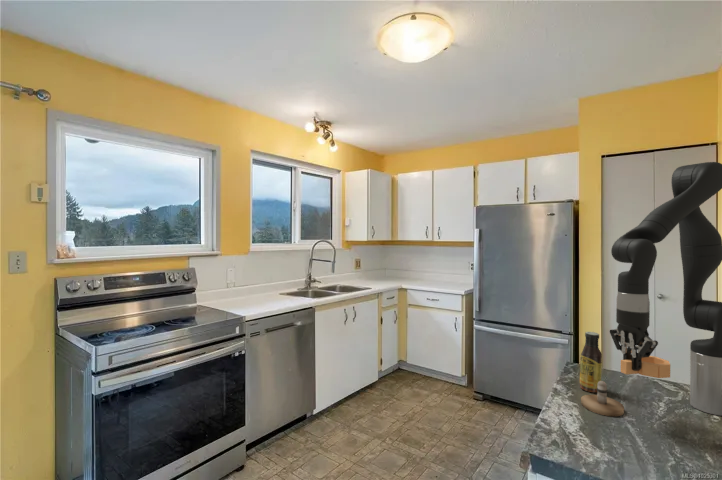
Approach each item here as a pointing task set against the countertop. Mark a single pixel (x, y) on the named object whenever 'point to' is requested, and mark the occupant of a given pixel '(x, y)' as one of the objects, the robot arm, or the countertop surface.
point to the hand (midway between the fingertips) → (632, 368)
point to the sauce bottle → (590, 363)
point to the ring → (648, 367)
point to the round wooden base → (602, 402)
